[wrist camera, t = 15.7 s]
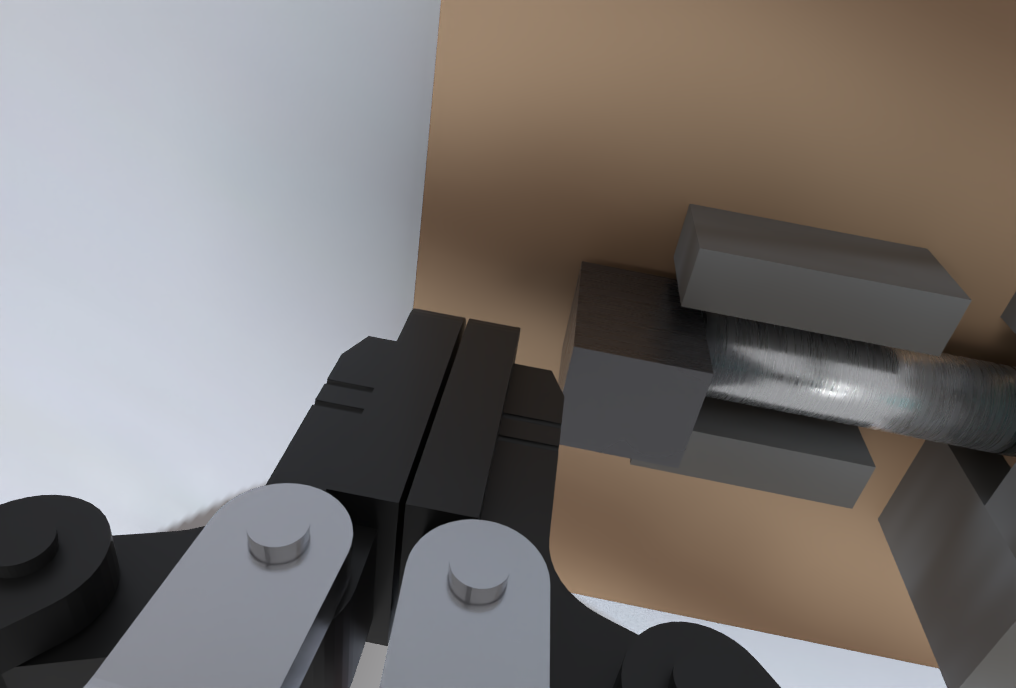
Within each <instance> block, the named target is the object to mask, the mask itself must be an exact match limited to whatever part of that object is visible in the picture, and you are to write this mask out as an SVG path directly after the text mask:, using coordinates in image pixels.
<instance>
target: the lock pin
mask: <svg viewBox="0 0 1016 688" xmlns="http://www.w3.org/2000/svg"><path fill="white" fill-rule="evenodd" d="M558 384H559V386H560V388H561V390H562V392H563V394H564V396H565V397H564V406H563V415H562V424H561V434H560V444H559V445H564V446H569V447H574V448H579V449H584V450H589V451H594V452H599V453H604V454H609V455H614V456H619V457H624V458H629V459H634V460H639V461H644V462H649V463H654V464H659V465H664V466H669V467H674V468H679V466H680V463H681V460H682V458H683V455H684V452H685V450H686V447H687V444H688V442H689V439H690V436H691V434H692V431H693V428H694V425H695V423H696V420H697V417H698V415H699V412H700V409H701V407H702V404H703V401H704V399H705V396H706V397H712V398H717V399H722V400H727V401H732V402H737V403H742V404H747V405H752V406H757V407H762V408H767V409H772V410H777V411H783V412H788V413H793V414H798V415H803V416H808V417H813V418H818V419H823V420H828V421H833V422H838V423H843V424H848V425H854V426H859V427H864V428H869V429H874V430H879V431H884V432H889V433H894V434H899V435H904V436H909V437H914V438H919V439H925V440H930V441H935V442H940V443H945V444H950V445H955V446H960V447H965V448H970V449H975V450H980V451H985V452H990V453H996V454H1001V455H1006V456H1011V457H1016V367H1013V366H1007V365H1002V364H997V363H992V362H987V361H982V360H977V359H971V358H966V357H961V356H956V355H951V354H946V353H941V355H940V357H939V356H934V355H929V354H924V353H919V352H913V351H908V350H903V349H898V348H893V347H888V346H882V345H877V344H872V343H867V342H862V341H857V340H852V339H846V338H841V337H836V336H831V335H826V334H821V333H815V332H810V331H805V330H800V329H795V328H790V327H785V326H779V325H774V324H769V323H764V322H759V321H754V320H748V319H743V318H738V317H733V316H728V315H723V314H718V313H712V312H707V311H702V310H697V309H692V308H687V307H681V303H680V296H679V289H678V283H677V279H672V278H667V277H662V276H656V275H651V274H646V273H641V272H636V271H630V270H625V269H620V268H615V267H610V266H605V265H599V264H594V263H589V262H584V261H582V263H581V267H580V271H579V276H578V280H577V284H576V289H575V293H574V298H573V302H572V306H571V311H570V315H569V320H568V324H567V328H566V333H565V337H564V341H563V346H562V353H561V362H560V370H559V378H558Z"/></svg>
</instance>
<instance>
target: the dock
mask: <svg viewBox="0 0 1016 688" xmlns="http://www.w3.org/2000/svg"><path fill="white" fill-rule="evenodd" d="M582 261H584V262H589V263H594V264H599V265H605V266H610V267H615V268H620V269H625V270H630V271H636V272H641V273H646V274H651V275H656V276H662V277H667V278H672V279H677V283H678V289H679V296H680V303H681V307H687V308H692V309H697V310H702V311H707V312H712V313H718V314H723V315H728V316H733V317H738V318H743V319H748V320H754V321H759V322H764V323H769V324H774V325H779V326H785V327H790V328H795V329H800V330H805V331H810V332H815V333H821V334H826V335H831V336H836V337H841V338H846V339H852V340H857V341H862V342H867V343H872V344H877V345H882V346H888V347H893V348H898V349H903V350H908V351H913V352H919V353H924V354H929V355H934V356H939V357H940V355H941V353H946V354H951V355H956V356H961V357H966V358H971V359H977V360H982V361H987V362H992V363H997V364H1002V365H1007V366H1013V367H1016V0H441V7H440V18H439V30H438V41H437V52H436V63H435V74H434V85H433V96H432V107H431V118H430V129H429V140H428V151H427V162H426V173H425V184H424V195H423V206H422V217H421V228H420V239H419V250H418V261H417V272H416V283H415V294H414V305H413V309H414V308H416V309H422V310H427V311H432V312H438V313H443V314H448V315H454V316H459V317H464V318H466V325H467V322H468V320H469V319H470V318H471V319H476V320H481V321H487V322H492V323H497V324H503V325H508V326H513V327H519V328H521V330H520V336H519V342H518V348H517V354H516V359H515V364H520V365H525V366H530V367H536V368H541V369H546V370H552V372H553V374H554V376H555V378H556V380H557V382H558V378H559V370H560V362H561V353H562V346H563V341H564V337H565V333H566V328H567V324H568V320H569V315H570V311H571V306H572V302H573V298H574V293H575V289H576V284H577V280H578V276H579V271H580V267H581V263H582ZM558 452H559V453H558V463H557V472H556V482H555V491H554V500H553V510H552V519H551V529H550V538H549V550H550V556H551V560H552V563H553V566H554V569H555V571H556V573H557V574H558V576H559V578H560V580H561V581H562V583H563V584H564V585H565V587H566V588H567V589H568V591H569V592H570V593H575V594H580V595H585V596H590V597H595V598H599V599H604V600H609V601H614V602H619V603H624V604H629V605H633V606H638V607H643V608H648V609H653V610H658V611H663V612H668V613H672V614H677V615H682V616H687V617H692V618H697V619H702V620H706V621H711V622H716V623H721V624H726V625H731V626H736V627H740V628H745V629H750V630H755V631H760V632H765V633H770V634H774V635H779V636H784V637H789V638H794V639H799V640H804V641H809V642H813V643H818V644H823V645H828V646H833V647H838V648H843V649H847V650H852V651H857V652H862V653H867V654H872V655H877V656H881V657H886V658H891V659H896V660H901V661H906V662H911V663H915V664H920V665H925V666H930V667H935V668H939V669H940V671H941V674H942V676H943V678H944V681H945V683H946V686H947V688H1016V457H1011V456H1006V455H1001V454H996V453H990V452H985V451H980V450H975V449H970V448H965V447H960V446H955V445H950V444H945V443H940V442H935V441H930V440H925V439H919V438H914V437H909V436H904V435H899V434H894V433H889V432H884V431H879V430H874V429H869V428H864V427H859V426H854V425H848V424H843V423H838V422H833V421H828V420H823V419H818V418H813V417H808V416H803V415H798V414H793V413H788V412H783V411H777V410H772V409H767V408H762V407H757V406H752V405H747V404H742V403H737V402H732V401H727V400H722V399H717V398H712V397H706V396H705V399H704V401H703V404H702V407H701V409H700V412H699V415H698V417H697V420H696V423H695V425H694V428H693V431H692V434H691V436H690V439H689V442H688V444H687V447H686V450H685V452H684V455H683V458H682V460H681V463H680V466H679V468H674V467H669V466H664V465H659V464H654V463H649V462H644V461H639V460H634V459H629V458H624V457H619V456H614V455H609V454H604V453H599V452H594V451H589V450H584V449H579V448H574V447H569V446H564V445H559V450H558Z"/></svg>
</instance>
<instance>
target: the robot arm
mask: <svg viewBox="0 0 1016 688" xmlns="http://www.w3.org/2000/svg"><path fill="white" fill-rule="evenodd" d="M520 330H521V328H519V327H513V326H508V325H503V324H497V323H492V322H487V321H481V320H476V319H471V318H470V319H469V320H468V322H467V325H466V318H464V317H459V316H454V315H448V314H443V313H438V312H432V311H427V310H422V309H416V308H414V309H413V310H412V311H411V313H410V315H409V317H408V319H407V321H406V323H405V325H404V327H403V329H402V331H401V333H400V336H399V338H398V340H397V341H392V340H387V339H381V338H376V337H371V336H368V337H367V338H365V339H364V340H362V341H361V342H359V343H358V344H356V345H355V346H353V347H352V348H350V349H349V350H347V351H346V352H344V353H343V354H342V355H341V356H340V358H339V360H338V362H337V363H336V365H335V367H334V368H333V370H332V372H331V374H330V375H329V377H328V379H327V384H324V386H323V387H322V389H321V391H320V393H319V394H318V396H317V398H316V399H315V404H314V405H312V406H311V408H310V410H309V411H308V413H307V415H306V417H305V418H304V420H303V422H302V424H301V425H300V427H299V429H298V430H297V432H296V434H295V436H294V437H293V439H292V441H291V442H290V444H289V446H288V448H287V449H286V451H285V453H284V454H283V456H282V458H281V460H280V461H279V463H278V465H277V467H276V468H275V470H274V472H273V473H272V475H271V477H270V479H269V480H268V482H267V484H266V485H265V486H261V487H258V488H255V489H252V490H249V491H247V492H244V493H242V494H240V495H238V496H236V497H235V498H233V499H232V500H230V501H228V502H227V503H226V504H225V505H224V506H222V507H221V508H220V509H219V510H218V511H217V512H216V513H215V515H214V516H213V517H212V518H211V519H210V521H209V522H208V523H207V525H206V526H203V527H199V528H195V529H190V530H182V531H172V532H158V533H144V534H129V535H115V536H112V533H111V529H110V525H109V523H108V521H107V519H106V516H105V515H104V514H103V513H102V512H101V511H100V509H98V508H97V507H95V506H94V505H93V504H91V503H89V502H87V501H84V500H82V499H79V498H75V497H71V496H62V495H40V496H33V497H26V498H22V499H18V500H13V501H10V502H7V503H4V504H1V505H0V688H350V686H351V683H352V681H353V678H354V674H355V672H356V668H357V665H358V663H359V659H360V657H361V653H362V650H363V648H364V645H365V642H370V643H375V644H380V645H385V646H388V643H389V646H388V651H387V655H386V660H385V665H384V669H383V674H382V679H381V683H380V688H781V687H780V686H779V685H778V684H777V683H776V682H775V680H774V679H773V678H772V677H771V676H770V675H769V674H768V673H767V671H766V670H765V669H764V668H763V667H762V666H761V665H760V663H759V662H758V661H757V660H756V659H755V658H754V657H753V656H752V655H751V654H750V653H749V652H748V651H747V650H746V649H744V648H743V647H742V646H741V645H739V644H738V643H737V642H736V641H734V640H732V639H731V638H729V637H728V636H726V635H724V634H723V633H720V632H718V631H716V630H714V629H712V628H709V627H706V626H702V625H699V624H695V623H688V622H668V623H663V624H659V625H656V626H653V627H651V628H649V629H647V630H646V631H644V632H642V633H641V634H640V635H637V634H635V633H633V632H632V631H630V630H628V629H626V628H624V627H622V626H620V625H618V624H616V623H614V622H612V621H610V620H608V619H606V618H604V617H603V616H601V615H599V614H597V613H596V612H594V611H592V610H591V609H589V608H588V607H586V606H585V605H584V604H582V603H581V602H580V601H579V600H577V599H576V598H575V597H574V596H573V595H572V594H571V593H570V592H569V591H568V589H567V588H566V587H565V585H564V584H563V583H562V581H561V580H560V578H559V576H558V574H557V573H556V571H555V569H554V566H553V563H552V560H551V556H550V550H549V538H550V529H551V519H552V510H553V500H554V491H555V482H556V472H557V463H558V453H559V452H558V450H559V444H560V434H561V424H562V415H563V406H564V397H565V396H564V394H563V392H562V390H561V388H560V386H559V384H558V382H557V380H556V378H555V376H554V374H553V372H552V370H546V369H541V368H536V367H530V366H525V365H520V364H515V359H516V354H517V348H518V342H519V336H520ZM389 640H390V641H389Z"/></svg>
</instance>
